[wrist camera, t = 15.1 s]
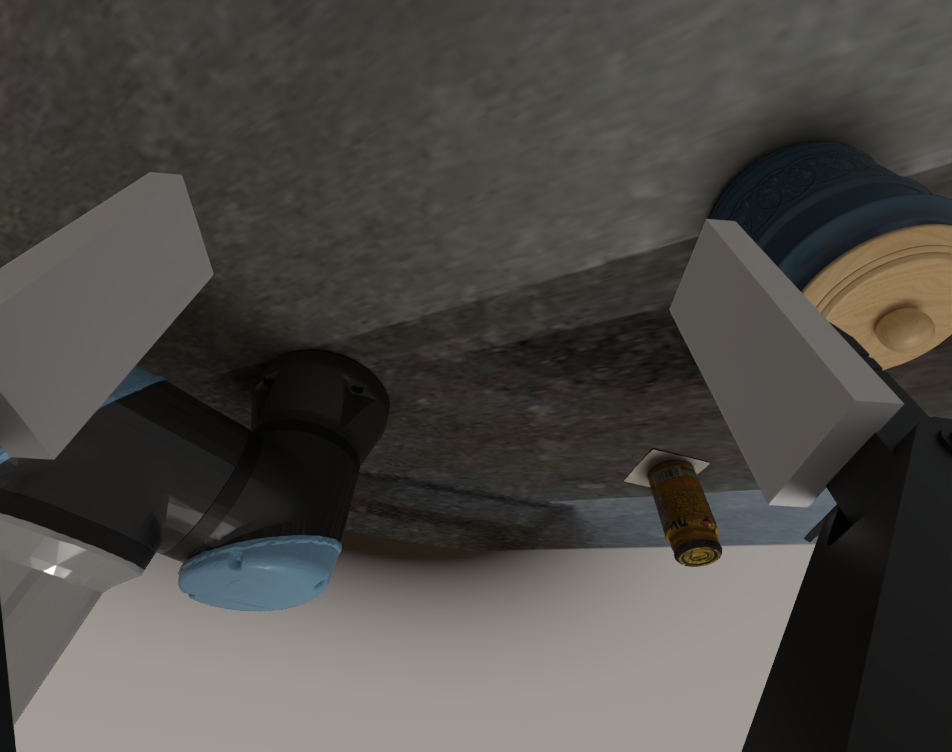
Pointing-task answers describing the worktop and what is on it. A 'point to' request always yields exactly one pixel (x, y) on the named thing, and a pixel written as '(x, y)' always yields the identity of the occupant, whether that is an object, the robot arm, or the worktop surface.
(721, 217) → the canister
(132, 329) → the robot arm
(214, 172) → the worktop surface
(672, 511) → the condiment
